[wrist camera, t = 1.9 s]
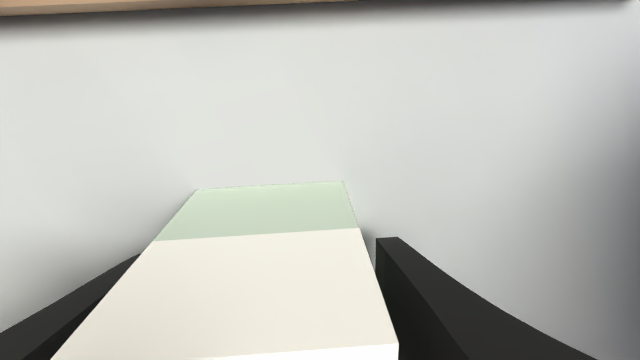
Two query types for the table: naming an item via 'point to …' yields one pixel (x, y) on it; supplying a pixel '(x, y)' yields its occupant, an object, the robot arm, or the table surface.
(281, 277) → the cream rectangular block
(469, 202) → the table surface
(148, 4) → the brown wooden board
